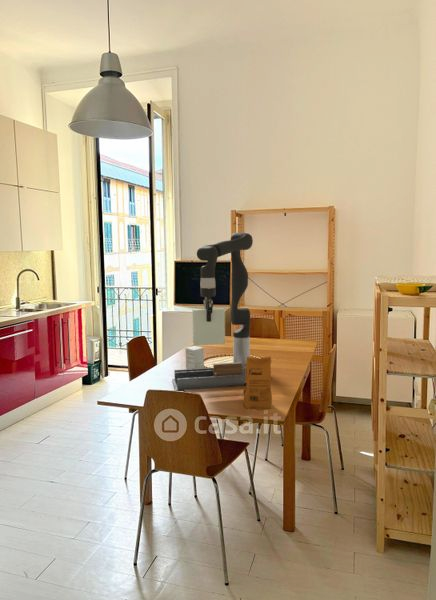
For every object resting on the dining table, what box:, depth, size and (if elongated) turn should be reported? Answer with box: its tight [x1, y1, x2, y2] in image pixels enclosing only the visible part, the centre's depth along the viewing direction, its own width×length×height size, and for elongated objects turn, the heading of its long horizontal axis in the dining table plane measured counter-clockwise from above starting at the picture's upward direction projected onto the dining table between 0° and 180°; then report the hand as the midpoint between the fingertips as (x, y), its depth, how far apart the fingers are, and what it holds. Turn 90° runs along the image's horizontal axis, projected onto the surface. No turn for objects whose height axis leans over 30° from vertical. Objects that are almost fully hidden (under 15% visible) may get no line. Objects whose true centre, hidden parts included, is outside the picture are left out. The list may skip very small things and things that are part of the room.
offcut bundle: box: [212, 362, 243, 376], centre depth 238 cm, size 6×14×9 cm, turn 100°
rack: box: [171, 366, 246, 392], centre depth 239 cm, size 19×38×6 cm, turn 100°
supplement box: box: [185, 345, 205, 369], centre depth 265 cm, size 7×7×13 cm
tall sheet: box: [191, 307, 226, 346], centre depth 240 cm, size 2×16×18 cm, turn 102°
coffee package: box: [242, 356, 273, 410], centre depth 209 cm, size 10×12×22 cm
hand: (208, 321), depth 240 cm, fingers closed on tall sheet, 1 cm apart
